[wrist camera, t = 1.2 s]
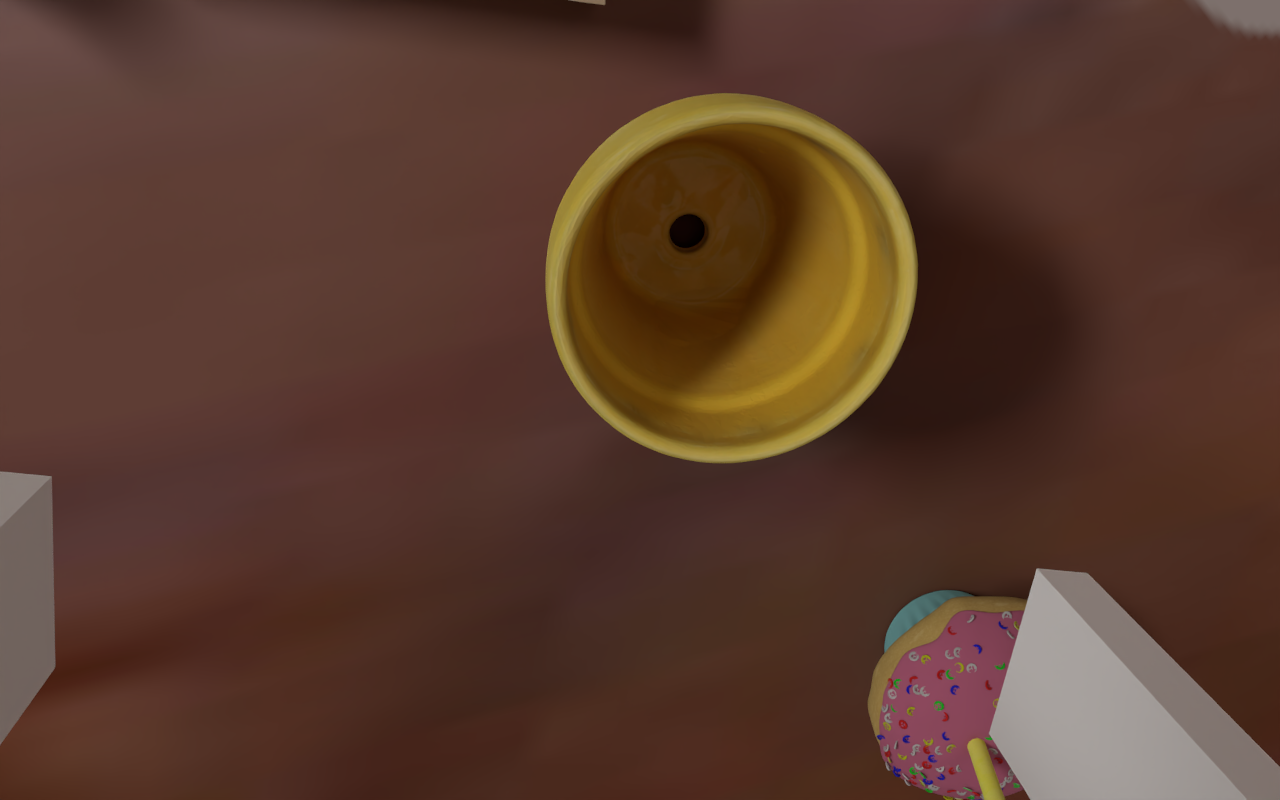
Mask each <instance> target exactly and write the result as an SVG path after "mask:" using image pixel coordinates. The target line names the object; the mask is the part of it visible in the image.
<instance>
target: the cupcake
mask: <svg viewBox="0 0 1280 800" xmlns="http://www.w3.org/2000/svg"><path fill="white" fill-rule="evenodd" d="M1027 601H1028V600H1026V599H1021V598H1016V597H1007V596H973V595H971V594H968V593H965V592H961V591H956V590H941V591H935V592H931V593H928V594H925V595H923V596H920V597H918V598H916V599H915V600H913V601H912V602H910V603H909V604H907V605H906V606H905V607H904V608H903V609H902V610H901V611H900V612H899V613H898V614H897V615H896V617H895V618H894V619H893V621H892V623H891V624H890V626H889V629H888V631H887V634H886V638H885V645H884V651H885V653H884V654H883V656H882V657H881V659H880V660H879V662H878V664H877V666H876V668H875V670H874V673H873V678H872V685H871V690H870V694H869V698H868V711H869V715H870V719H871V722H872V726H873V729H874V733H875V736H876V738H877V741H878V743H879V744H880V749H881V755H882V758H883V760H884V761H885V763H886V767H887V769H888V770H889V771H890V770H891V769H892V770H893V773H894V775H895V776H897V777H901V778H902V779H904V780H905V782H906V784H907V785H908V786H911V784H912V785H914V786H917V787H919V788H921V789H924V790H926V791H927V792H929V793H935V794H939V795H943V796H944V798H945V799H946V800H953V797H954V798H955V799H957V800H970V799H971V800H1005V798H1004V796H1007V795H1010V794H1013V793H1016V792H1019V791H1021V790H1023V789H1024V788H1023V786H1022V785H1021V783H1020V782H1019V780H1018V779H1017V777H1016V775H1015V774H1014V772H1013V771H1012V769H1011V768H1010V766H1009V764H1008V763H1007V761H1006V760H1005V758H1004V757H1003V755H1002V754H1001V752H1000V750H999V749H998V747H997V746H996V744H995V743H994V741H993V739H992V738H991V736H990V735H989V732H990V728H991V725H992V721H993V718H994V714H995V711H996V708H997V704H998V701H999V697H1000V694H1001V690H1002V687H1003V683H1004V680H1005V677H1006V673H1007V670H1008V666H1009V663H1010V659H1011V656H1012V652H1013V649H1014V646H1015V642H1016V639H1017V635H1018V632H1019V628H1020V625H1021V621H1022V618H1023V615H1024V611H1025V608H1026V604H1027ZM888 767H889V768H888ZM947 797H949V798H947ZM950 797H951V798H950Z"/></svg>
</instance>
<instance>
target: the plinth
mask: <svg viewBox="0 0 1280 800" xmlns="http://www.w3.org/2000/svg"><path fill="white" fill-rule="evenodd" d="M570 1H578V2H585V3H593V4H601V5H605V0H570Z"/></svg>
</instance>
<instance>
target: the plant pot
mask: <svg viewBox="0 0 1280 800" xmlns="http://www.w3.org/2000/svg"><path fill="white" fill-rule="evenodd" d="M686 214H692V215H696V216H697V217H699V218H700V219H701V220H702V221H703V223H704V226H705V233H704V237H703V238H702V240H701V241H700V242H699V243H698V244H696V245H695V246H693V247H689V248H681V247H678V246H676V245H675V244H674V243H673V242H672V240H671V238H670V233H669V231H670V227H671V225H672V224H673V222H674V221H675V220H676V219H677V218H678V217H680V216H682V215H686ZM917 282H918V259H917V251H916V244H915V238H914V234H913V230H912V226H911V223H910V219H909V216H908V213H907V211H906V209H905V206H904V204H903V202H902V199H901V197H900V195H899V194H898V192H897V190H896V188H895V186H894V185H893V183H892V181H891V180H890V178H889V177H888V175H887V174H886V172H885V171H884V170H883V169H882V167H881V166H880V165H879V164H878V162H877V161H876V160H875V159H874V158H873V157H872V156H871V155H870V154H869V152H868V151H866V150H865V149H864V148H863V147H862V146H861V145H860V144H859V143H858V142H856V141H855V140H854V139H852V138H851V137H850V136H849V135H847V134H846V133H844V132H843V131H841V130H840V129H838V128H837V127H835V126H834V125H832V124H830V123H828V122H827V121H825V120H823V119H821V118H820V117H818V116H816V115H814V114H812V113H809V112H807V111H805V110H803V109H800V108H797V107H795V106H792V105H790V104H787V103H784V102H781V101H777V100H773V99H769V98H765V97H760V96H755V95H746V94H730V93H721V94H709V95H701V96H694V97H689V98H685V99H681V100H678V101H674V102H671V103H668V104H666V105H663V106H660V107H658V108H655V109H653V110H651V111H649V112H647V113H645V114H643V115H641V116H639V117H638V118H636V119H634V120H632V121H631V122H629V123H628V124H626V125H625V126H623V127H622V128H620V129H619V130H618V131H616V132H615V133H614V134H613V135H611V136H610V137H609V138H608V139H607V140H606V141H605V142H604V143H603V144H602V145H600V146H599V147H598V148H597V149H596V151H595V152H594V153H593V154H592V155H591V156H590V157H589V158H588V160H587V161H586V162H585V163H584V165H583V166H582V167H581V168H580V170H579V171H578V173H577V174H576V176H575V177H574V179H573V181H572V182H571V184H570V186H569V187H568V189H567V191H566V193H565V195H564V197H563V199H562V201H561V203H560V205H559V208H558V211H557V213H556V216H555V219H554V223H553V226H552V230H551V234H550V239H549V244H548V252H547V260H546V298H547V310H548V317H549V322H550V327H551V331H552V335H553V339H554V342H555V345H556V348H557V351H558V354H559V357H560V359H561V361H562V364H563V366H564V368H565V370H566V372H567V373H568V375H569V377H570V379H571V381H572V382H573V384H574V386H575V387H576V388H577V390H578V391H579V393H580V394H581V395H582V397H583V398H584V399H585V400H586V402H587V403H588V404H589V405H590V406H591V407H592V408H593V409H594V410H595V411H596V412H597V413H598V414H599V415H600V416H601V417H602V418H603V419H604V420H605V421H607V422H608V423H609V424H610V425H611V426H612V427H614V428H615V429H616V430H618V431H619V432H621V433H622V434H624V435H625V436H627V437H628V438H630V439H631V440H633V441H635V442H637V443H639V444H641V445H643V446H645V447H648V448H650V449H652V450H655V451H657V452H660V453H663V454H666V455H669V456H672V457H677V458H681V459H686V460H691V461H696V462H707V463H736V462H746V461H753V460H759V459H764V458H768V457H772V456H776V455H779V454H782V453H785V452H788V451H791V450H793V449H796V448H798V447H800V446H802V445H804V444H807V443H809V442H811V441H812V440H814V439H816V438H818V437H820V436H822V435H824V434H825V433H827V432H828V431H830V430H831V429H833V428H834V427H836V426H837V425H838V424H840V423H841V422H843V421H844V420H845V419H846V418H848V417H849V416H850V415H851V414H852V413H853V412H854V411H855V410H857V409H858V408H859V407H860V406H861V405H862V404H863V403H864V402H865V401H866V399H867V398H868V397H869V396H870V395H871V394H872V393H873V392H874V391H875V389H876V388H877V387H878V386H879V384H880V383H881V381H882V380H883V379H884V377H885V376H886V374H887V372H888V371H889V369H890V368H891V366H892V364H893V363H894V361H895V359H896V357H897V355H898V353H899V351H900V349H901V347H902V344H903V342H904V340H905V337H906V334H907V332H908V329H909V325H910V322H911V318H912V315H913V311H914V305H915V300H916V293H917Z"/></svg>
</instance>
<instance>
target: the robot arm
mask: <svg viewBox="0 0 1280 800" xmlns="http://www.w3.org/2000/svg"><path fill="white" fill-rule="evenodd" d="M54 668H55V628H54V575H53V522H52V476H42V475H31V474H20V473H10V472H0V744H1V743H2V742H3V740H4V739H5V737H6V736H7V735H8V733H9V732H10V730H11V729H12V728H13V726H14V725H15V723H16V722H17V720H18V719H19V718H20V716H21V715H22V713H23V712H24V711H25V709H26V708H27V706H28V705H29V704H30V702H31V701H32V699H33V698H34V697H35V695H36V694H37V692H38V691H39V690H40V688H41V687H42V685H43V684H44V683H45V681H46V680H47V678H48V677H49V675H50V674H51V673H52V671H53V670H54ZM989 735H990V736H991V738H992V739H993V741H994V743H995V744H996V746H997V747H998V749H999V750H1000V752H1001V754H1002V755H1003V757H1004V758H1005V760H1006V761H1007V763H1008V764H1009V766H1010V768H1011V769H1012V771H1013V772H1014V774H1015V775H1016V777H1017V779H1018V780H1019V782H1020V783H1021V785H1022V786H1023V788H1024V790H1025V791H1026V793H1027V794H1028V796H1029V797H1030V799H1031V800H1280V767H1279V766H1278V765H1277V764H1276V763H1275V762H1274V761H1273V760H1272V759H1271V758H1270V757H1269V756H1268V755H1267V754H1266V753H1265V752H1264V751H1263V750H1262V749H1261V748H1260V747H1259V746H1258V745H1257V744H1256V743H1255V742H1254V741H1253V740H1252V739H1251V738H1250V737H1249V736H1248V735H1247V734H1246V733H1245V732H1244V730H1243V729H1242V728H1241V727H1240V726H1239V725H1238V724H1237V723H1236V722H1235V721H1234V720H1233V719H1232V718H1231V717H1230V716H1229V715H1228V714H1227V713H1226V712H1225V711H1224V710H1223V709H1222V708H1221V707H1220V706H1219V705H1218V704H1217V703H1216V702H1215V701H1214V700H1213V699H1212V698H1211V697H1210V696H1209V695H1208V694H1207V693H1206V692H1205V691H1204V690H1203V689H1202V688H1201V687H1200V686H1199V685H1198V684H1197V683H1196V682H1195V681H1194V680H1193V679H1192V678H1191V677H1190V676H1189V675H1188V674H1187V673H1186V672H1185V671H1184V670H1183V669H1182V668H1181V667H1180V666H1179V665H1178V664H1177V663H1176V662H1175V661H1174V660H1173V659H1172V658H1171V657H1170V656H1169V655H1168V654H1167V653H1166V652H1165V651H1164V650H1163V649H1162V648H1161V647H1160V646H1159V645H1158V644H1157V643H1156V642H1155V641H1154V640H1153V639H1152V638H1151V637H1150V636H1149V635H1148V634H1147V633H1146V632H1145V631H1144V630H1143V629H1142V628H1141V627H1140V626H1139V625H1138V624H1137V623H1136V622H1135V621H1134V620H1133V619H1132V618H1131V617H1130V616H1129V615H1128V614H1127V613H1126V612H1125V611H1124V610H1123V609H1122V608H1121V607H1120V606H1119V605H1118V603H1117V602H1116V601H1115V600H1114V599H1113V598H1112V597H1111V596H1110V595H1109V594H1108V593H1107V592H1106V591H1105V590H1104V589H1103V588H1102V587H1101V586H1100V585H1099V584H1098V583H1097V582H1096V581H1095V580H1094V579H1093V578H1092V577H1091V576H1090V575H1089V574H1088V573H1080V572H1070V571H1059V570H1048V569H1037V570H1036V573H1035V577H1034V580H1033V584H1032V587H1031V590H1030V594H1029V597H1028V601H1027V604H1026V608H1025V611H1024V615H1023V618H1022V621H1021V625H1020V628H1019V632H1018V635H1017V639H1016V642H1015V646H1014V649H1013V652H1012V656H1011V659H1010V663H1009V666H1008V670H1007V673H1006V677H1005V680H1004V683H1003V687H1002V690H1001V694H1000V697H999V701H998V704H997V708H996V711H995V714H994V718H993V721H992V725H991V728H990V732H989Z"/></svg>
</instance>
